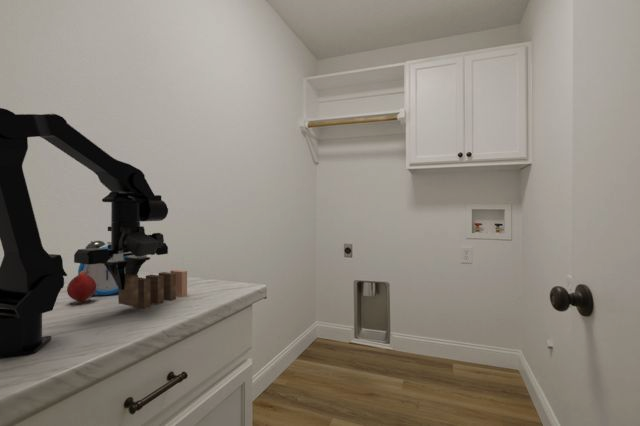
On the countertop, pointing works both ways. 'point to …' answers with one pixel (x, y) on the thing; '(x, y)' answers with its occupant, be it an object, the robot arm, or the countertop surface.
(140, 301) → the tile
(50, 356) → the countertop surface
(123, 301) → the tile
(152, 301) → the tile
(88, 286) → the onion
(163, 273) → the tile
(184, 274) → the tile
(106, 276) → the alarm clock
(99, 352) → the countertop surface
